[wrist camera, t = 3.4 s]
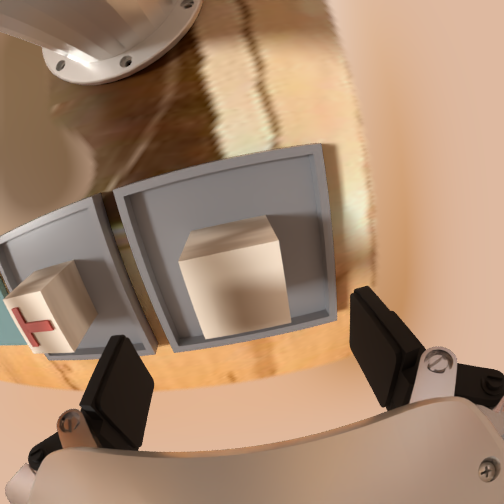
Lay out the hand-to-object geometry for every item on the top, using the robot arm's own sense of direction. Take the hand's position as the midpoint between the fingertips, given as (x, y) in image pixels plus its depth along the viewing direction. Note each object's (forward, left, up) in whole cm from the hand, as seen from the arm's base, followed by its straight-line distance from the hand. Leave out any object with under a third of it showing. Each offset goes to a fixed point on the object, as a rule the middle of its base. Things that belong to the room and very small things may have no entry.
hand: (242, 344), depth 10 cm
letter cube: (+12, -9, -9) cm, 17 cm away
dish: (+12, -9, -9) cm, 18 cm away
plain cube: (0, 0, -9) cm, 9 cm away
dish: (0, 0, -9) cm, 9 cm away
